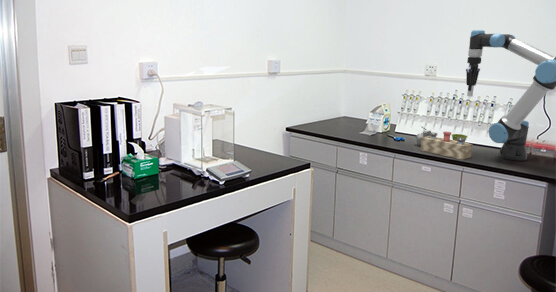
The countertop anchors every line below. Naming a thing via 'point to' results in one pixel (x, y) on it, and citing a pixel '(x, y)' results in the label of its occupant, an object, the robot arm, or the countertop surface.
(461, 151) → the block
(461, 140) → the plug near
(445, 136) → the red plug
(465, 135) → the plant pot
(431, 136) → the plug far
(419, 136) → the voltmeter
